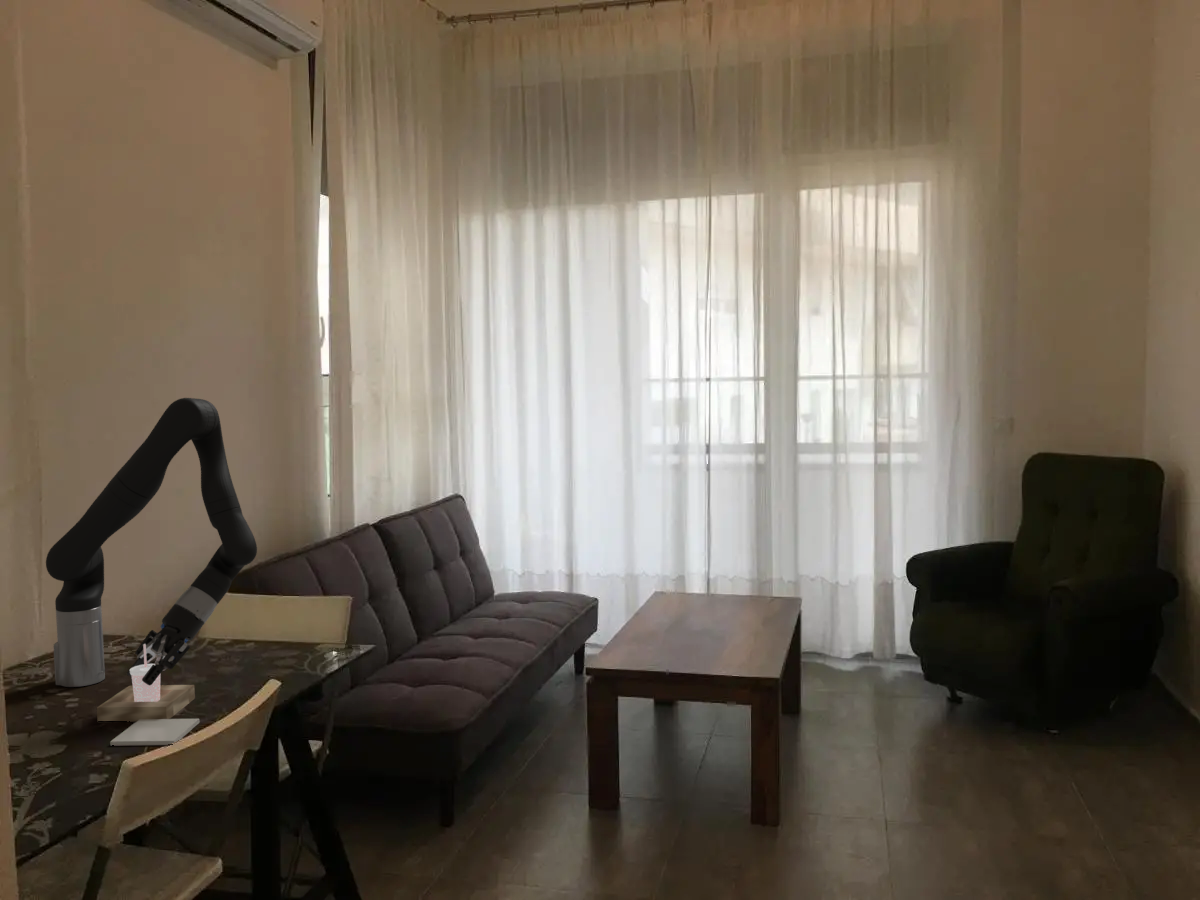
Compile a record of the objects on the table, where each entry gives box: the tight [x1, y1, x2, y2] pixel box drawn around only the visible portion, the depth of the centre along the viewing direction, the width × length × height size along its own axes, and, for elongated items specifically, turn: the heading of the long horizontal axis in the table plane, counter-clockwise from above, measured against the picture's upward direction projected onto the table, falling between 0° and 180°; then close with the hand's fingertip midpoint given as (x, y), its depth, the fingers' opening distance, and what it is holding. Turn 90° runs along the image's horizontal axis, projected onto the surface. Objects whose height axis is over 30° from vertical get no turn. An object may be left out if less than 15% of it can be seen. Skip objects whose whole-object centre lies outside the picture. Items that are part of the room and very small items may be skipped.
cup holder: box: [96, 684, 196, 723], centre depth 207 cm, size 14×14×3 cm
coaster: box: [109, 718, 201, 747], centre depth 193 cm, size 12×12×1 cm
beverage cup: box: [129, 644, 162, 702], centre depth 206 cm, size 6×6×14 cm
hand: (138, 679), depth 205 cm, fingers closed on beverage cup, 6 cm apart
